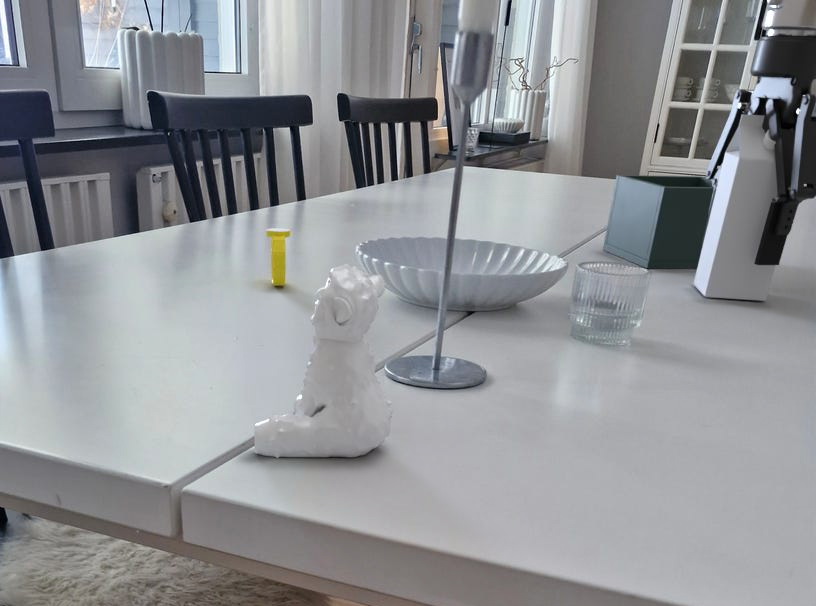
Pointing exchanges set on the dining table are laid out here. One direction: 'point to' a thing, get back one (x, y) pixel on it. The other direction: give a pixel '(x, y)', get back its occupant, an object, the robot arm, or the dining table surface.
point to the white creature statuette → (335, 379)
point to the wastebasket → (659, 220)
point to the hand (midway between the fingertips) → (738, 255)
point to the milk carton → (740, 217)
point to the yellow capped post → (278, 254)
